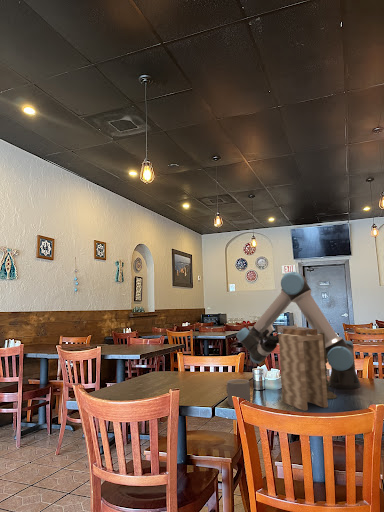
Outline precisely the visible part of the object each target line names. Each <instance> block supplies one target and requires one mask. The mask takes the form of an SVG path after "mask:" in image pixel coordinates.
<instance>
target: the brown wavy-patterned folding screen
mask: <svg viewBox="0 0 384 512" xmlns="http://www.w3.org/2000/svg"><path fill="white" fill-rule="evenodd" d="M278 334H279V336H278V338H279V343H278V347H279V364H280V381H281V382H280V383H281V396H282V397H281V399H282V403H284V404H287V405H289V406H292V407H294V408H296V409H299V410H300V411H303V412H304V411H308V409H309V408H308V403H311V404H313V405H315V406H318V407H321V408H329V404H328V400H329V399H327V387H326V374H325V360H324V347H323V335H321V334H318V333H317V329H312V328H309V335H307V330H300V329H289V328H283V333H278Z"/></svg>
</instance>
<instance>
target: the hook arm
mask: <svg viewBox="0 0 384 512" xmlns="http://www.w3.org/2000/svg"><path fill="white" fill-rule="evenodd" d="M283 328H289V329H300V330H307V335H309V329H310V327H304V326H303V327H302V326H298V327H294V325H283V324H275V325H274V333H276V334H283Z"/></svg>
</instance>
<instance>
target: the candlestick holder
mask: <svg viewBox="0 0 384 512" xmlns="http://www.w3.org/2000/svg"><path fill="white" fill-rule="evenodd" d="M320 334H321V335H323V347H324V360H325V374H326V387H327V400H335V399H337V398H338V396H337V394H335V393H334V392H332V391H330V390H329V387H330V386H329V384H330V383H329V380H328V374H327V373H328V372H327V370H328V368H327V365H326V364H327V363H328V360H327V358H328V356H326V349H325V336H324V333H322V332H321V333H320Z"/></svg>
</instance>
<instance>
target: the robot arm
mask: <svg viewBox="0 0 384 512" xmlns="http://www.w3.org/2000/svg"><path fill="white" fill-rule="evenodd" d="M280 287H281V290H280V293H279V294H278V295H277V296H276V298H275V299H274V301H273V302H272V303H271V304H270V305H269V306H268V308H267V309H266V310H265V311H264V312H263V313H262V315H261V316H260V318H258V320H257V321H256V322H255V324H254V325H253V326H252V327H251V328H250V330H249V328H247V327H243V328H241V329H240V330H239V331H238V332H236V336H235V337H236V338H237V340H238V341H239V343H241V344H242V345H243V346H244V348H245V349H246V350H247V351H248V353H249V358H250V360H251V361H252V363H254V364H261V363H263V361H265V360H266V358H267V357H268V356H270V354H271V353H272V352H273V351H274V350H275V349H276V348H277V346H278V344H279V334H280V333H277V334H276V335H271V334H272V333H273V332H274V331H275V328H274V326H273V324H274V323H275V322H276V321H277V320H278V318H279V317H280V316H281V315H282V314H283V313H284V311H285V310H286V309H287V308H288V307H289V306H290V305H291V303H295V304H296V305H297V307H298V308H299V310H300V311H301V313H302V315H303V316H304V318H305V320H306V321H307V323H308V325H310V327H311V328H310V329H317V333H318V334H320V333H321V332H322V333H324V336H325V349H326V356H328V358H327V360H328V362H327V363H328V365H329V366H330V368H331V370H330V371H331V372H330V374H329V375H330V376H329V379H328V382H329V383H330V384H329V387H332V388H333V389H342V390H343V389H344V390H352V389H358V388H360V387H361V382H360V379H359V376H358V374H357V372H356V362H355V351H354V350H355V349H354V347H355V346H354V343H353V341H351V340H344V338H343V337H341V336H339V335H337V333H336V331H335V330H334V328H333V327H332V326H331V323H330V322H329V320H328V319H327V317H326V316H325V315H324V313H323V311H322V310H321V308H320V307H319V305H318V303H317V302H316V301H315V299H314V298H313V296H312V289H311V287H310V286H309V284H308V281H307V278H306V276H304V275H303V274H302V273H300V272H298V271H289V272H286V273H285V274H284V275H283V276H282V278H281V279H280ZM293 326H294V327H299V325H298V323H297V322H296V323H295V324H293ZM270 335H271V336H270Z"/></svg>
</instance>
